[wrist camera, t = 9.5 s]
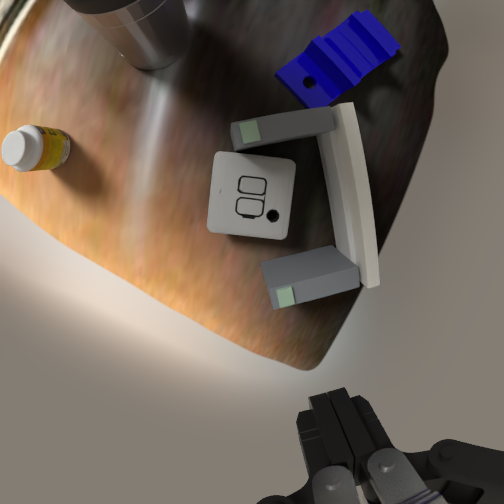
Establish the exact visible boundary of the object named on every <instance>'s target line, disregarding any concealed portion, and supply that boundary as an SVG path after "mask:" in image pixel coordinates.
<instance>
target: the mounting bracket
mask: <svg viewBox="0 0 504 504" xmlns="http://www.w3.org/2000/svg"><path fill="white" fill-rule="evenodd" d="M400 47H401V46H400V45H399V44H398V43H397V41H396V40H395V39H394V38H393V37H392V36H391V34H390V33H389V32H388V31H387V30H386V29H385V28H384V27H383V25H382V24H381V23H380V22H379V21H378V20H377V19H376V18H375V17H374V16H373V15H372V14H371V13H370V12H369V11H368V10H366V11H364V12H362V13H360V12H359V11H356V12H354V13H353V14H351V15H350V16H349V17H348V18H347V19H346V20H345V21H344V22H342V23H341V24H340V25H339V26H337V27H336V28H335V29H333V30H332V31H331V32H329V33H328V34H326V35H325V36H323V37H320V36H317V37H316V38H315V39H313V40H312V41H311V42H310V44H309V45H308V46H307V48H306V49H305V51H304V52H303V53H301V54H300V55H299V56H297V57H296V58H295V59H293V60H292V61H291V62H289V63H288V64H287V65H285V66H284V67H283V68H281V69H280V70H279V71H277V72H276V74H275V75H274V76H275V77H276V78H277V79H278V80H279V81H280V82H281V83H282V84H283V85H284V86H285V87H286V88H287V89H288V90H289V91H290V92H291V93H292V94H293V95H294V96H295V97H296V99H297V100H298V101H299V102H300V103H301V104H302V105H303V106H304V107H305V108H306V109H311V108H318V107H326V106H327V105H328V104H330V103H331V102H332V101H333V100H334V99H336V98H337V97H338V96H339V95H341V94H342V93H343V92H345V91H347V90H349V89H350V88H352V87H354V86H355V85H357V84H358V83H359V82H360V81H361V80H360V79H362V78H363V77H364V76H365V75H366V74H368V73H369V72H370V71H372V70H373V69H374V68H376V67H377V66H379V65H380V64H381V63H383V62H384V61H386V60H388V59H389V58H391V57H392V56H394V55H395V54H396V52H395V51H396V50H398V49H399V48H400ZM303 79H310V80H311V81H312V82H313V84H314V88H313V89H308V88H306V87H305V86H304V85H303Z"/></svg>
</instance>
